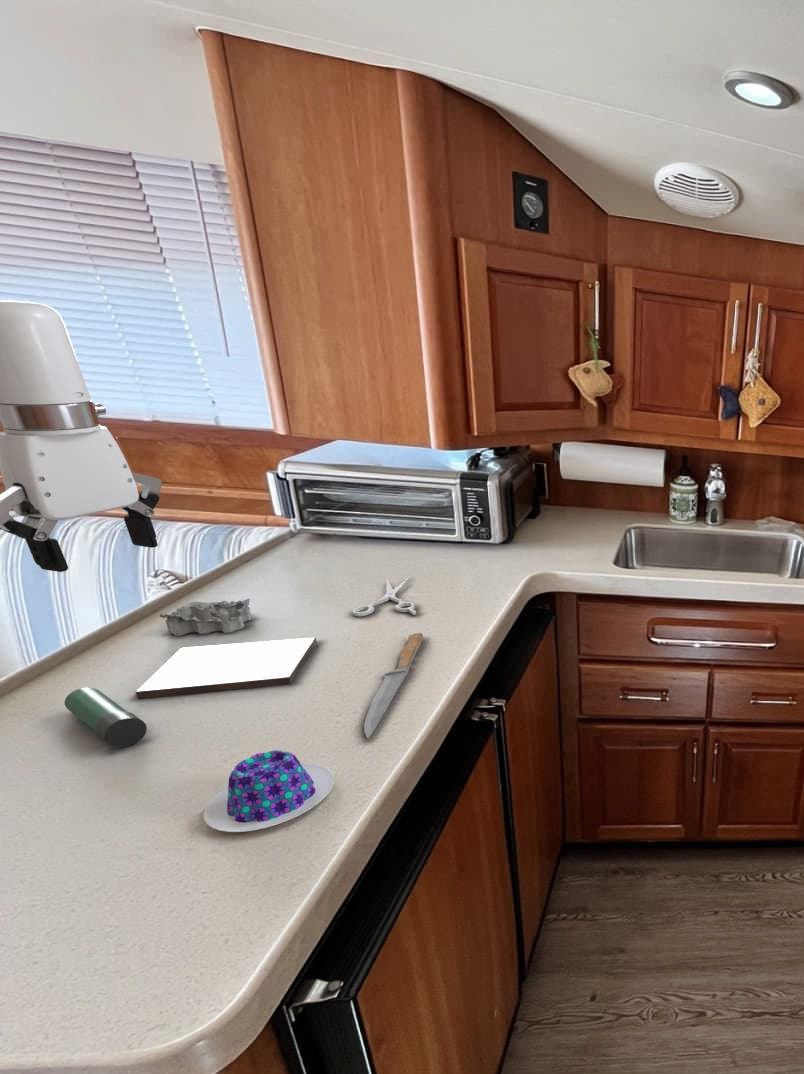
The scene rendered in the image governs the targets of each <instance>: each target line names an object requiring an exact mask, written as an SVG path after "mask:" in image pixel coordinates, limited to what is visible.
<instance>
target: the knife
mask: <svg viewBox="0 0 804 1074" xmlns="http://www.w3.org/2000/svg"><path fill="white" fill-rule="evenodd" d="M407 638H408V639H407V640H408V641H407V643H406V645H405V646H404V648H403V649H402V650H401V651H400V657H399V662H398V666H397V668H396V669H393V670H391V671H388V672H386V673H384V679H382V680H383V681H382V682H381V684H380V686H379V688H378V689H377V691H376V694H375V695H374V697H373V699H372V700H371V703H370V705H369V708H368V711H367V714H366V716H365V720H364V724H363V728H364V729H363V730H364V734H365V737H366V739H367V740H369V738H370V737H371V736H372V734H373V733H374V731H375V730H376V729H377V726H378V725H379V723H380V722H381V720H382V718H383V717H384V716H385V713H386V711H387V710H388V708H389V706H390V705H391V703H392V701H393V699H394V697H395V695H396V694H397V692H398V690H399V688H400V687H401V685H402V684H403V682H404V680H405V678H406V677H407V676H408V674H409V672H410V668H411V666H412V664H413V661H414V659H415V657H416V654H417V653H418V650H419V649H420V647H421V645H422V643H423V640H424V635H423V633H422V632H418V633H412V634H410V635H408V637H407Z"/></svg>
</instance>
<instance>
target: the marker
mask: <svg viewBox="0 0 804 1074" xmlns="http://www.w3.org/2000/svg"><path fill="white" fill-rule="evenodd" d="M64 706H65V708H66V709H67V710H68V711H69V712H70V713H72V714H73V715H74V716H75V717H76V718H78V719H79V720H80V721H81V722H82V723H84V724H85V725H86V726H87V727H89V728H90V729H91V730H92V731H93V732H94V733H96V735H97V736H98V737H99V738H100V739H101V740H102V741H104V743H106V744H107V745H108V746H110V747H114V748H126V747H131V746H133V745H135V744H137V743H138V742H140V741H141V740H142V739H143V738H144V737H145V736H146V734H147V730H148V729H147V728H148V727H147V724H146V722H145V721H143V720H142V718H141V719H140V717H138V715H135V714H134V713H132V712H130V711H127V710H126V709H124V707H122V706H120V705H119V704H117V703H116V702H115V701H114V700H113V699H111V698H110V697H109V696H107V695H106V694H104V693H103V692H102V691H100V690H99V689H97V688H95V687H81V688H78V689H75V690H73V691H71V692H70V693H69V694H68V695H67V696H66V697H65V699H64Z"/></svg>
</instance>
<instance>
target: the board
mask: <svg viewBox="0 0 804 1074" xmlns="http://www.w3.org/2000/svg"><path fill="white" fill-rule="evenodd" d="M317 644H318V642H317V638H316V637H308V638H307V637H306V638H305V637H304V638H291V639H279V640H266V641H253V642H241V643H239V642H237V643H227V644H215V645H213V644H212V645H202V646H201V645H200V646H188V647H181V648H179V649H178V651H176V652H175V653H174V655H172V656H171V657H170V658H169V659H168V660H167V661H166V662H164V664H163V665H162V666H161V667H160V668H159V669H157V671H155V672H154V673H153V674H152V675H151V676H150V677H149V678H148V679H147V680H145V682H144V683H143V684H142V685H140V687H138V688H137V690H135V696H136V697H137V699H138V700H140V699H150V698H151V699H152V698H161V697H162V698H163V697H170V696H182V695H190V694H191V695H192V694H203V693H210V692H212V693H213V692H221V691H231V690H243V689H252V688H262V687H263V688H265V687H273V686H282V685H291V684H292V683H293V682H294V680H295V679H296V677H297V675H298V674H299V673H300V671H301V669H302V667H303V666H304V664H305V663H306V662H307V660H308V658H309V657H310V655H311V654H312V652H313V650H314V649H315V648H316V646H317Z"/></svg>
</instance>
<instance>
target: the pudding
mask: <svg viewBox="0 0 804 1074" xmlns="http://www.w3.org/2000/svg"><path fill="white" fill-rule="evenodd" d="M334 785H335V775H334V773H333V771H332V770H330V769H329V768H327V767H326V766H324V765H321V764H317V763H310V762H300V760H299V759H298V758H297V756H296V755H295V754H294V753H292V752H290V751H282V750H276V749H274V750H270V751H267V752H259V753H256V754H253V755H251V756H250V757H249V758H247V759H244V760H241V761H240V762H238V763H237V764H236V765H235V766H234V768H233V770H231V772H230V774H229V777H228V785H227V786H226V787H225V788H223V789H221V791H219V792H217V794H216V795H214V797H212V798H211V799H210V801H209V802H208V803H207V805H206V807H205V808H204V811H203V820H204V822H205V824H206V825H207V826H209V828H211V829H213V830H216V831H220V832H227V833H243V832H254V831H257V830H262V829H267V828H270V827H273V826H276V825H279V824H282V823H285V822H287V821H288V822H289V820H292V819H295V818H296V817H299V816H301V815H303V814H304V813H306V812H308V811H309V810H311V809H313V808H314V807H315V806H317V805H318V804H319V803H320V802H322V801H323V800H324V799H325V798H326V797H327V796H328V795H329V794H330V792H331V790H332V789H333V787H334Z"/></svg>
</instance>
